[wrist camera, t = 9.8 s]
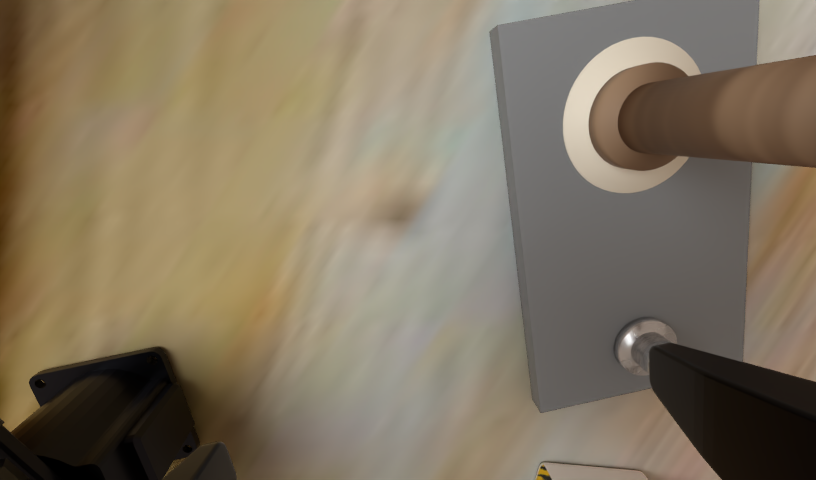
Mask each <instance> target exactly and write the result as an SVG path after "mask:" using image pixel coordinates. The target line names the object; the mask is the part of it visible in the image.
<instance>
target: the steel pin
mask: <svg viewBox="0 0 816 480" xmlns="http://www.w3.org/2000/svg"><path fill="white" fill-rule="evenodd" d="M664 343H675V344H677V338H676V335H675V333H674V331H673V330H672V328H671V327H669V326H668V325H666V324H665V323H663V322H662V321H660V320H659V319H656V318H653V317H640V318H637V319H634V320H632V321H630V322H629V323H627V324H626V325H625V326H624V327H623V328H622V329H621V330H620V331H619V333H618V334H617V336H616V338H615V341H614V346H613V350H614V355H615V358H616V360H617V361H618V362H619V363H620V364H621V365H622V366H623V367H624V368H625V369H626V370H627V371H629V372H630V373H632V374H635V375H640V376H645V375H649V350H650V348H651V347H652V346H655V345H659V344H664Z"/></svg>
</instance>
